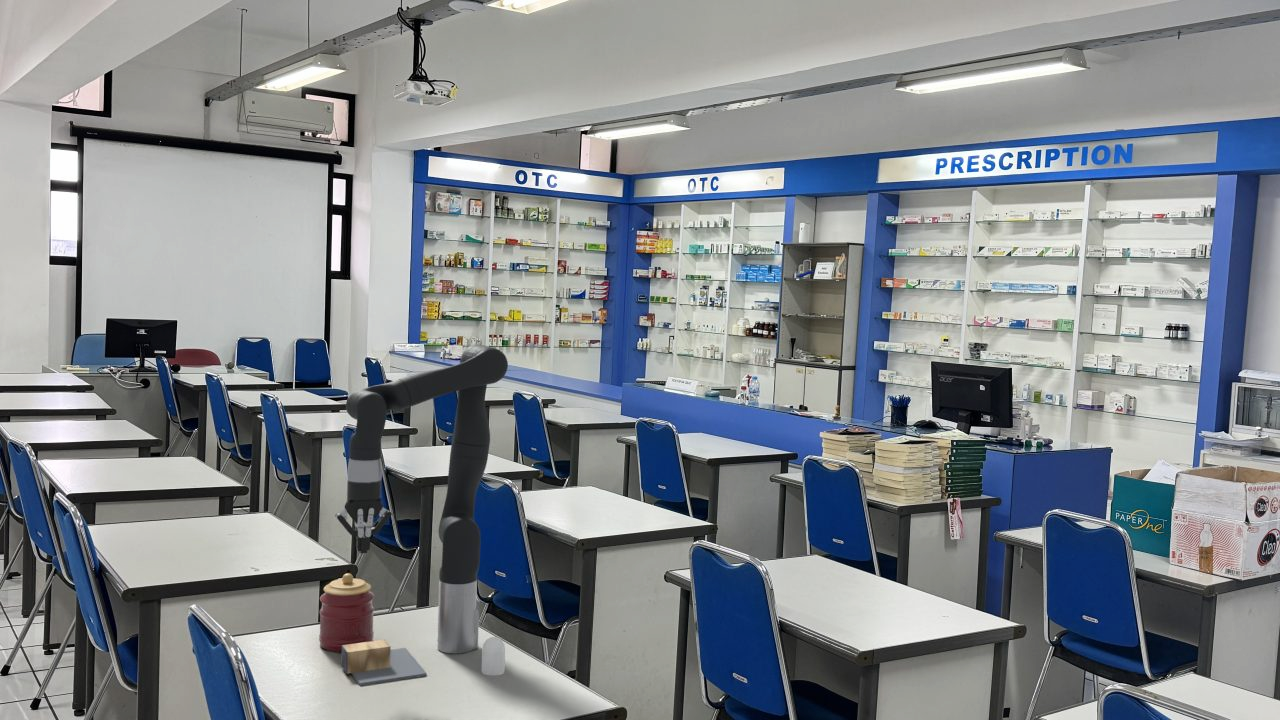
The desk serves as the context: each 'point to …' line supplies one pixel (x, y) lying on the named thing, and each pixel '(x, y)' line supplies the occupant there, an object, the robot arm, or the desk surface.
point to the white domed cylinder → (493, 656)
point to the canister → (346, 613)
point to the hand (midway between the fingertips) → (362, 552)
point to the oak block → (365, 656)
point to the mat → (392, 669)
